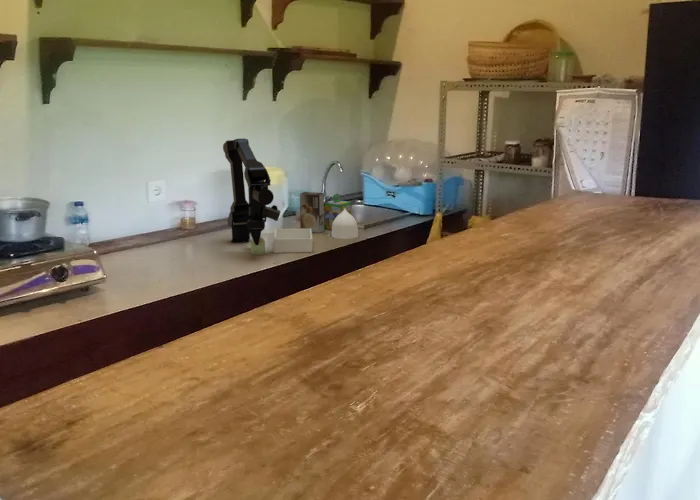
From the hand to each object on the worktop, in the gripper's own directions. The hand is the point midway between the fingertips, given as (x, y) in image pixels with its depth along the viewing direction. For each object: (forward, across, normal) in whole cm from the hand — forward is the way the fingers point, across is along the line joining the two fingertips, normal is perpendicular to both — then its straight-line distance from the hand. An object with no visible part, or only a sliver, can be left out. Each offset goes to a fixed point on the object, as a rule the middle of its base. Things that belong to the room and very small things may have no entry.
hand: (257, 242), depth 251 cm
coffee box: (+4, +35, -21) cm, 41 cm away
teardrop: (+4, +25, -34) cm, 43 cm away
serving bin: (+4, +8, -13) cm, 16 cm away
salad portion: (+4, 0, 0) cm, 4 cm away
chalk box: (+4, +39, -32) cm, 51 cm away
